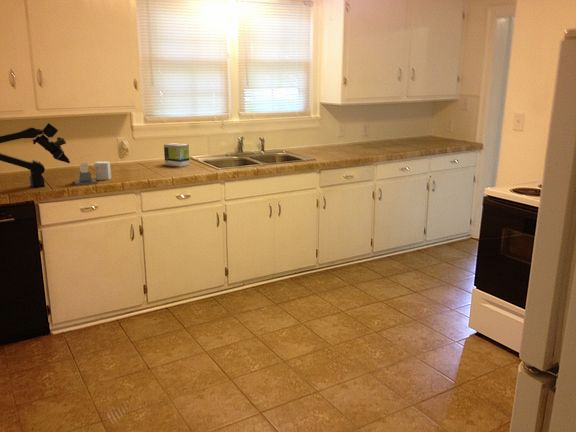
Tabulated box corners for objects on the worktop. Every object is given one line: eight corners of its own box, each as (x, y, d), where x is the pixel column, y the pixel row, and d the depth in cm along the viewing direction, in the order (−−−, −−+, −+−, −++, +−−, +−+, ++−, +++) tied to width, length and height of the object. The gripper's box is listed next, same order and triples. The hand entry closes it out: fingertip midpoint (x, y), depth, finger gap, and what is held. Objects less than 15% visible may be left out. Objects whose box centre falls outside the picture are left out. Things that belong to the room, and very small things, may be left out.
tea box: (190, 165, 378) (189, 144, 374) (180, 167, 370) (179, 146, 366) (174, 162, 386) (173, 142, 382) (164, 165, 378) (163, 144, 374)
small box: (111, 177, 335) (110, 161, 332) (108, 179, 330) (107, 163, 327) (98, 177, 335) (97, 161, 332) (95, 179, 329) (94, 163, 326)
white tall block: (81, 181, 319) (80, 164, 316) (81, 179, 322) (79, 163, 320) (89, 180, 320) (87, 163, 318) (88, 179, 324) (86, 162, 321)
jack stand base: (75, 185, 314) (74, 175, 312) (73, 181, 324) (72, 171, 323) (97, 183, 319) (96, 173, 317) (94, 179, 330) (93, 169, 328)
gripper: (57, 135, 300) (80, 153, 308) (55, 131, 316) (77, 148, 324) (43, 150, 299) (66, 168, 306) (42, 145, 315) (64, 162, 323)
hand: (69, 161), depth 315 cm, fingers open, 9 cm apart
